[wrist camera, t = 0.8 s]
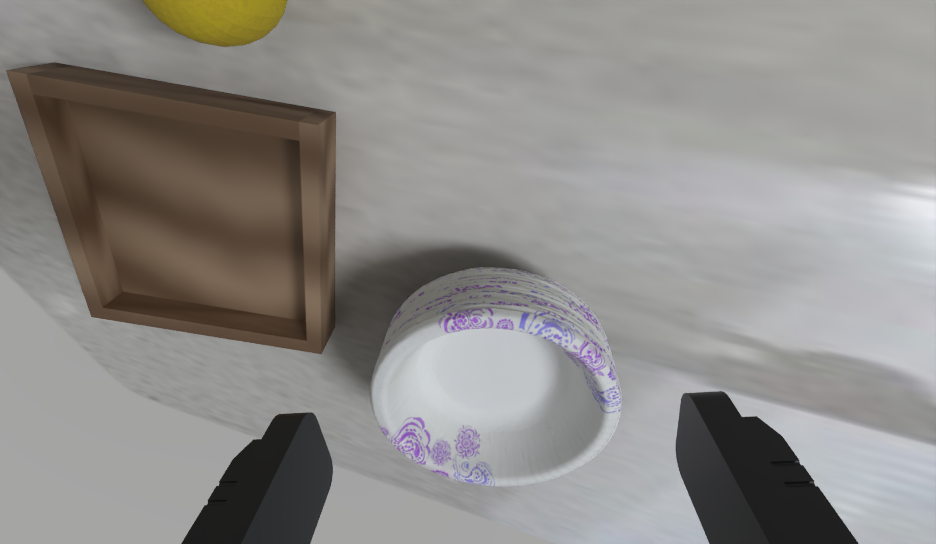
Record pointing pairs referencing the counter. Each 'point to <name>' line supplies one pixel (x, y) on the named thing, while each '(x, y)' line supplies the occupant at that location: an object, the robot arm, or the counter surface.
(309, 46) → the counter surface
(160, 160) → the walnut tray
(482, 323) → the paper bowls
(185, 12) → the lemon
